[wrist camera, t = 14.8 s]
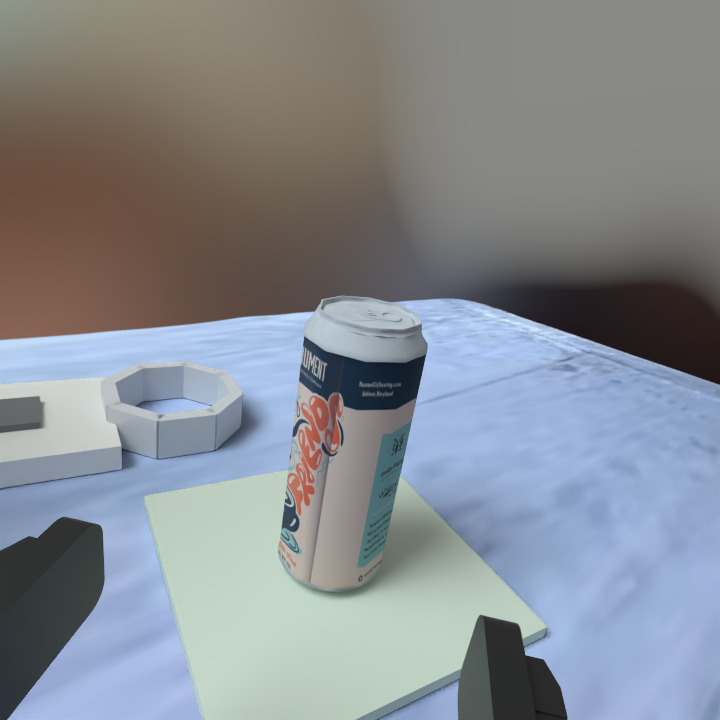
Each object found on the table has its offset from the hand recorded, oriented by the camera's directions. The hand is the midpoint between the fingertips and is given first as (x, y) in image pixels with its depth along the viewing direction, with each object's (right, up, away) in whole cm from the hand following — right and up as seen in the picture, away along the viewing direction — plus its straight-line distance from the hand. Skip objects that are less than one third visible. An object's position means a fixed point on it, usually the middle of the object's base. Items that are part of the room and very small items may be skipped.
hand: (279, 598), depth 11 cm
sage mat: (0, -5, +14) cm, 14 cm away
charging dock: (-16, 0, +20) cm, 26 cm away
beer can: (0, -4, +13) cm, 14 cm away
